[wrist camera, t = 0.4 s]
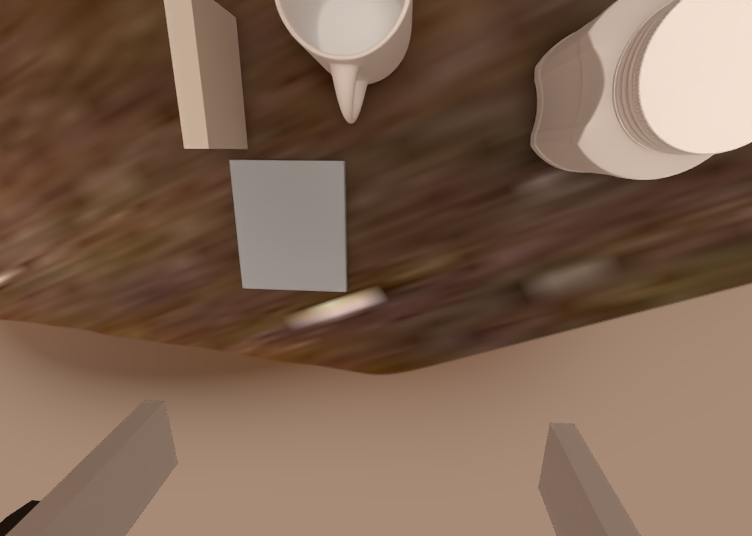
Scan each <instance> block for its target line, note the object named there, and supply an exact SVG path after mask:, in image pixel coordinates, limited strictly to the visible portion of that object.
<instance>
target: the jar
mask: <svg viewBox="0 0 752 536" xmlns="http://www.w3.org/2000/svg"><path fill="white" fill-rule="evenodd" d="M534 82H535V86H536V92H537V112H536V118H535V123H534V127H533V130H532V132H531V140H530V146H531V148H532V149H533V150H534V152H535V153H536V154H537V155H538V156H539V157H540V158H541V159H543V160H544V161H545V162H547V163H548V164H550V165H552V166H554V167H556V168H559V169H562V170H566V171H572V172H583V173H586V172H590V173H599V174H607V175H612V176H616V177H620V178H627V179H636V180H651V179H659V178H664V177H669V176H672V175H676V174H679V173H681V172H684V171H686V170H689V169H691V168H693V167H695V166H697V165H698V164H700V163H702V162H703V161H705V160H707V159H708V158H710V157H711V156H712V155H714V154H716V153H723V152H727V151H731V150H733V149H737V148H740V147H742V146H744V145H746V144H749V143H750V142H752V0H617V1H616V2H615V3H613V4H612V5H611V6H609V7H608V8H607V9H606V10H605V11H603V12H602V13H601V14H600V15H599V16H598V17H596V18H595V19H593V20H592V21H591V22H589V23H588V24H586V25H585V26H583V27H582V28H581V29H579V30H578V31H576V32H574V33H572V34H571V35H569V36H567V37H566V38H564V39H563V40H561V41H560V42H559V43H557V44H556V45H555V46H553V47H552V48H551V49H550V50H549V51H548V52H547V53H546V54H545V55H544V56H543V57H542V58H541V60H540V61H539V62H538V63H537V65H536V66H535V72H534Z"/></svg>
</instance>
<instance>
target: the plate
mask: <svg viewBox="0 0 752 536" xmlns="http://www.w3.org/2000/svg"><path fill="white" fill-rule="evenodd" d="M229 162H230V171H231V181H232V190H233V200H234V210H235V219H236V229H237V238H238V248H239V257H240V267H241V277H242V286H243V288H250V289H278V290H306V291H334V292H346V291H347V289H348V283H347V220H346V161H309V160H229Z"/></svg>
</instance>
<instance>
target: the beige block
mask: <svg viewBox="0 0 752 536" xmlns="http://www.w3.org/2000/svg"><path fill="white" fill-rule="evenodd" d="M164 6H165V13H166V20H167V27H168V35H169V42H170V49H171V56H172V64H173V71H174V78H175V85H176V93H177V100H178V107H179V114H180V122H181V129H182V136H183V143H184V149H248V145H247V134H246V122H245V111H244V100H243V89H242V78H241V67H240V56H239V44H238V33H237V22H236V17H234V16H233V15H232V14H231V13H229V12H228V11H227V10H225V9H224V8H223V7H222V6H220V5H219V4H218V3H216V2H215V1H214V0H164Z"/></svg>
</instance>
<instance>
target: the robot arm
mask: <svg viewBox="0 0 752 536" xmlns="http://www.w3.org/2000/svg"><path fill="white" fill-rule="evenodd" d="M177 463H178V462H177V457H176V452H175V447H174V442H173V437H172V433H171V428H170V423H169V418H168V413H167V409H166V404H165V401H151V400H144V401H143V402H142V403H141V404H140V405H139V406H138V407H137V408H136V409H135V410H134V411H133V412H132V413H131V414H130V415H129V416H128V417H126V418H125V420H123V421H122V422H121V423H120V424H119V425H118V426H117V427H116V428H115V429H114V430H113V431H112V432H111V433H110V434H109V435H108V436H107V437H106V438H105V439H104V440H103V441H102V442H101V443H100V444H99V445H98V446H97V447H96V448H95V449H94V450H93V451H92V452H91V453H90V454H89V455H88V456H87V457H86V458H84V459H83V460H82V461H81V462H80V463H79V464H78V465H77V466H76V467H75V468H74V469H73V470H72V471H71V472H70V473H69V474H68V475H67V476H66V477H65V478H64V479H63V480H62V481H61V482H60V483H59V484H58V485H57V486H56V487H55V488H54V489H53V490H52V491H51V492H50V493H49V494H48V495H47V496H45V497H44V498H43V499H42V500H41V501H34V500H32V501H30V502H29V503H27V504H26V505H24V506H23V507H21V508H20V509H18V510H17V511H15V512H14V513H12V514H11V515H9V516H8V517H6V518H5V519H4V520H3V521H2V522H1V523H0V536H126V534H127V533H128V532H129V530H130V529H131V527H132V526H133V524H134V523H135V522H136V520H137V519H138V518H139V516H140V515H141V513H142V512H143V511H144V509H145V508H146V506H147V505H148V504H149V502H150V501H151V500H152V498H153V497H154V495H155V494H156V493H157V491H158V490H159V488H160V487H161V485H162V484H163V483H164V482H165V480H166V479H167V477H168V476H169V475H170V473H171V471H172V470H173V469H174V467H175V466H176V465H177ZM538 488H539V490H540V493H541V496H542V498H543V501H544V504H545V506H546V509H547V511H548V514H549V517H550V519H551V522H552V525H553V527H554V530H555V533H556V535H557V536H641V535H640V534H639V532H638V530H637V528H636V527H635V525H634V523H633V522H632V520H631V518H630V517H629V515H628V513H627V512H626V510H625V508H624V507H623V505H622V503H621V502H620V500H619V498H618V496H617V495H616V493H615V491H614V490H613V488H612V487H611V485H610V483H609V482H608V480H607V478H606V476H605V475H604V473H603V471H602V470H601V468H600V466H599V465H598V463H597V461H596V459H595V458H594V456H593V454H592V453H591V451H590V449H589V448H588V446H587V444H586V443H585V441H584V439H583V438H582V436H581V434H580V433H579V431H578V429H577V428H576V426H575V424H567V423H566V424H565V423H550V425H549V431H548V436H547V442H546V447H545V453H544V459H543V464H542V470H541V475H540V481H539V487H538Z"/></svg>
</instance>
